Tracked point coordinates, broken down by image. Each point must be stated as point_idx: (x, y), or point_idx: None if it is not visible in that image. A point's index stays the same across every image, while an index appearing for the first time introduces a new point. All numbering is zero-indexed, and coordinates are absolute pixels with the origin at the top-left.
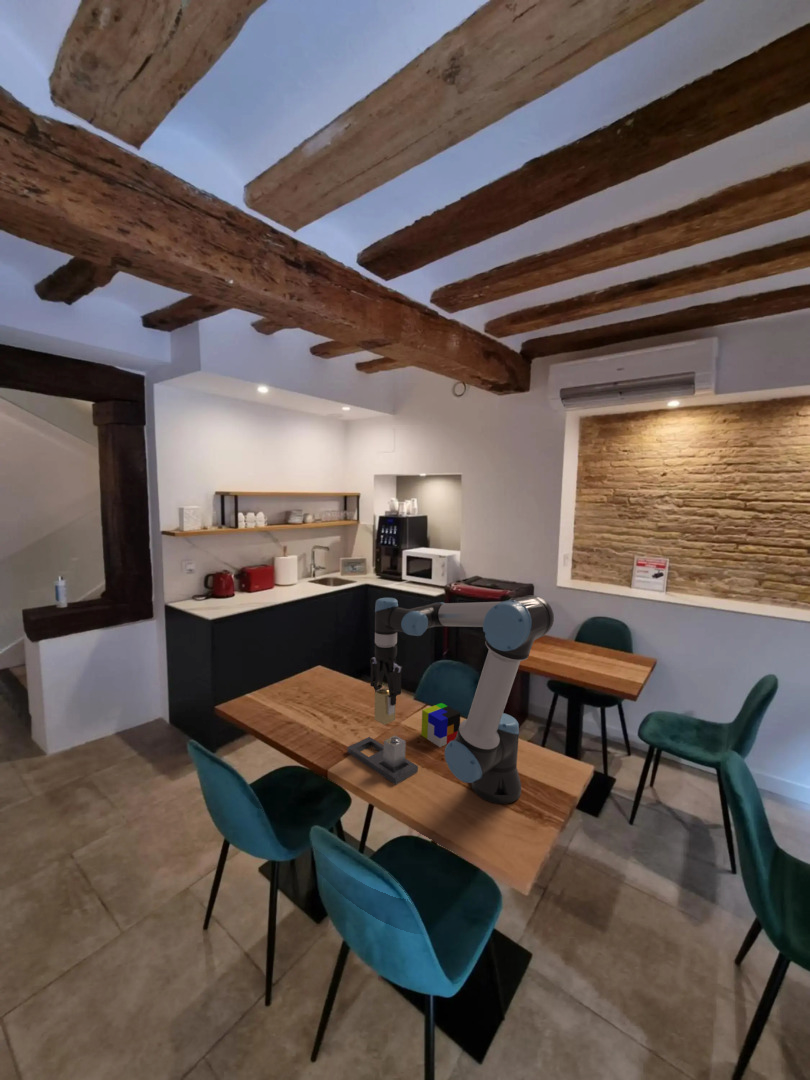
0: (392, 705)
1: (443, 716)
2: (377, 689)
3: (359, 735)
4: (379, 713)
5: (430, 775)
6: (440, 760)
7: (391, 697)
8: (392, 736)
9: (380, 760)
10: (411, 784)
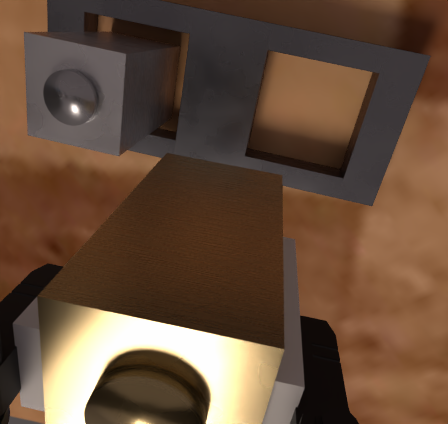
0: (48, 265)
1: None
2: (294, 418)
3: (444, 216)
4: (216, 192)
5: (15, 135)
6: (53, 236)
7: (9, 328)
8: (118, 132)
9: (199, 62)
10: (23, 33)
